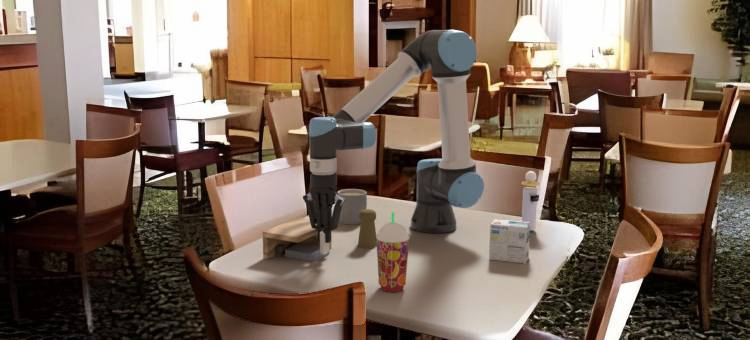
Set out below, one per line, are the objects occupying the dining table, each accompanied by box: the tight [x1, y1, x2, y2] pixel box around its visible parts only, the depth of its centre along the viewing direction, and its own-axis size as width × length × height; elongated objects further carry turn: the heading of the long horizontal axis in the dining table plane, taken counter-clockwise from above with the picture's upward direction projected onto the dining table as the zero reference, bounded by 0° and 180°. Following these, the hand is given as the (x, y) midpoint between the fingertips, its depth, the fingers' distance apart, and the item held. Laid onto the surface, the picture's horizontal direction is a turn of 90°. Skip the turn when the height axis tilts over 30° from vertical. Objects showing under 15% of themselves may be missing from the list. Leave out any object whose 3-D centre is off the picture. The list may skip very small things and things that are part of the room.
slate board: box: [284, 243, 330, 262], centre depth 210 cm, size 10×8×2 cm
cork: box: [357, 208, 377, 249], centre depth 219 cm, size 6×6×11 cm
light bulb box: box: [488, 218, 531, 264], centre depth 207 cm, size 11×7×11 cm, turn 71°
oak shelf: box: [262, 216, 333, 260], centre depth 211 cm, size 12×18×8 cm, turn 153°
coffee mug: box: [337, 188, 368, 225], centre depth 249 cm, size 13×10×10 cm
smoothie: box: [376, 211, 410, 293], centre depth 182 cm, size 8×8×20 cm
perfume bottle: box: [521, 170, 541, 232], centre depth 235 cm, size 6×6×20 cm
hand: (324, 253), depth 207 cm, fingers closed
